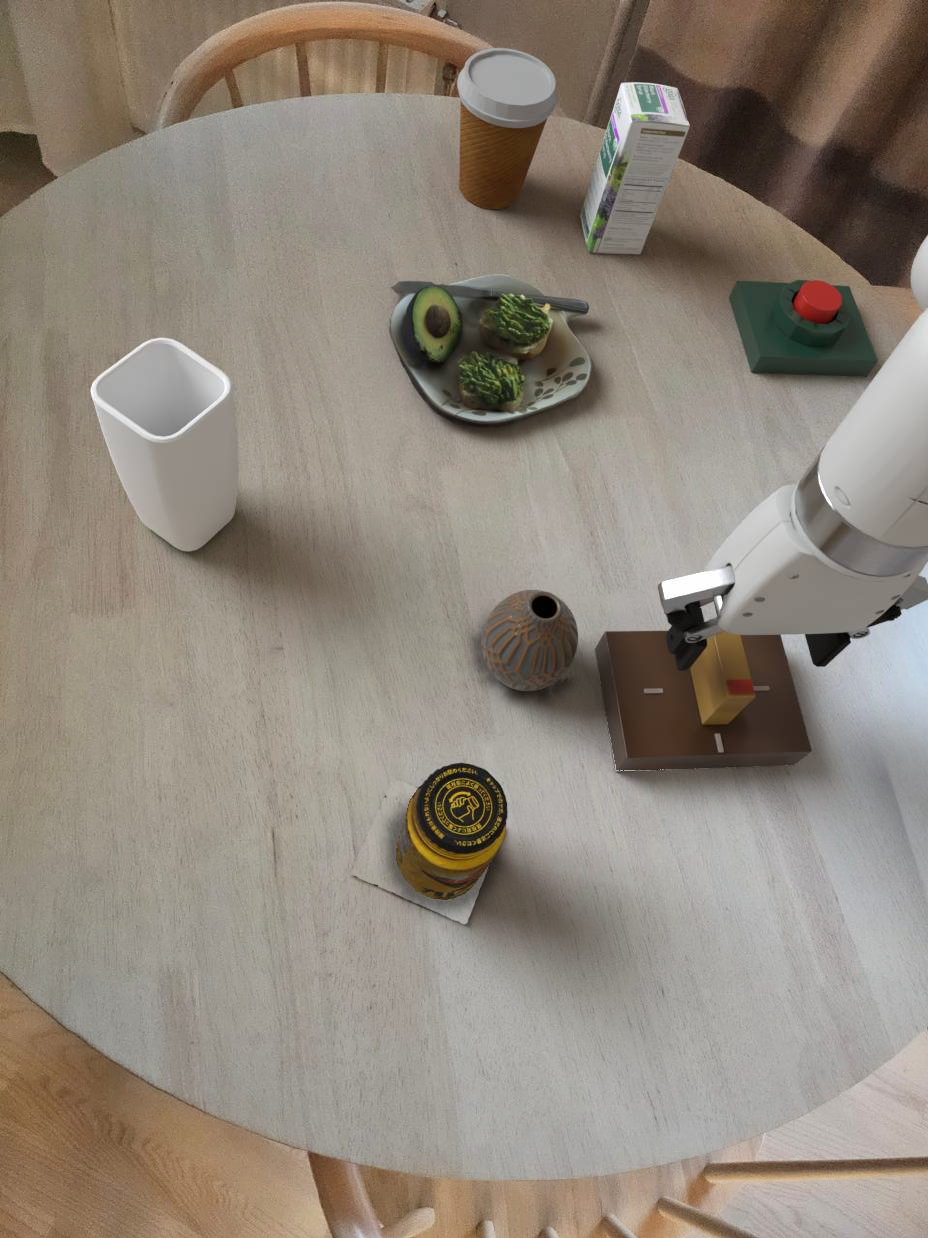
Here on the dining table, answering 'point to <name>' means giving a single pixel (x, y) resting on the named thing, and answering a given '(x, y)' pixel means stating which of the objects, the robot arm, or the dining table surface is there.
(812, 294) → the round red push button
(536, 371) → the avocado toast plate
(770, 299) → the green button box
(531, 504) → the dining table surface
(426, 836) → the condiment
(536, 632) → the vase
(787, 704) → the plate
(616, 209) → the syrup box
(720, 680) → the thumbturn
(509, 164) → the disposable coffee cup
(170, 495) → the cup
